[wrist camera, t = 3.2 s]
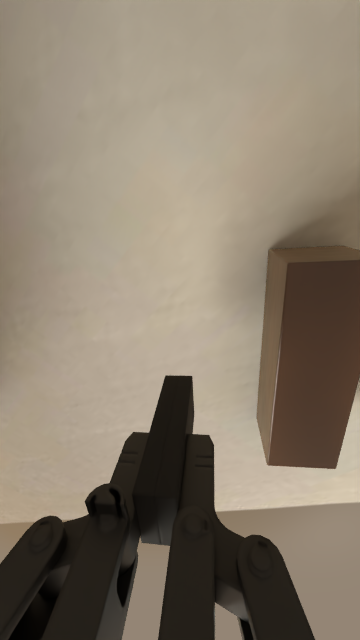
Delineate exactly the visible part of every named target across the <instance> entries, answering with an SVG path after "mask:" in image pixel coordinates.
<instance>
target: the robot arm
mask: <svg viewBox="0 0 360 640" xmlns="http://www.w3.org/2000/svg"><path fill="white" fill-rule="evenodd" d="M193 422H194V401H193V382H192V376H165V379H164V383H163V386H162V390H161V393H160V397H159V400H158V404H157V407H156V411H155V414H154V418H153V421H152V425H151V428H150V432H149V433H143V432H133V433H132V434H131V435H130V436H129V438H128V439H127V440H126V441H125V444H124V446H123V449H122V453H121V454H120V457H119V460H118V463H117V465H116V468H115V470H114V473H113V476H112V478H111V481H110V483H109V484H103V485H101V486H99V487H97V488H95V489H94V490H93V491H92V492H91V493H90V494H89V496H88V497H87V499H86V500H85V504H86V507H87V510H88V513H89V514H88V515H86V516H84V517H81V518H78V519H74V520H70V521H67V522H62V520H60V519H59V518H58V517H56V516H47V517H44V518H41V519H40V520H38V521H37V522H35V523H34V524H33V525H32V526H31V527H30V528H29V529H28V530H27V531H26V532H25V533H24V535H23V536H22V537H21V538H20V540H19V541H18V542H17V543H16V545H15V546H14V547H13V549H12V550H11V551H10V552H9V554H8V555H7V556H6V557H5V559H4V560H3V561H2V562H1V564H0V640H122V635H123V630H124V626H125V621H126V616H127V611H128V607H129V602H130V597H131V592H132V588H133V583H134V578H135V573H136V568H137V563H138V553H137V547H138V543H139V538H140V537H141V541H142V543H149V544H158V545H168V546H170V552H169V560H168V567H167V576H166V583H165V590H164V598H163V606H162V614H161V622H160V629H159V637H158V640H215V602H216V603H217V604H219V605H220V606H222V607H223V608H225V609H227V610H228V611H230V612H231V613H233V614H234V615H236V616H237V617H238V622H239V626H240V631H241V636H242V640H315V639H314V636H313V633H312V631H311V628H310V626H309V623H308V620H307V618H306V615H305V613H304V610H303V608H302V606H301V603H300V600H299V598H298V595H297V593H296V590H295V588H294V585H293V582H292V580H291V578H290V575H289V572H288V570H287V568H286V565H285V562H284V560H283V557H282V555H281V554H280V552H279V550H278V548H277V547H276V546H275V545H274V544H273V543H272V542H271V541H270V540H269V539H267V538H265V537H263V536H261V535H250V536H248V537H246V538H244V537H242V536H240V535H238V534H236V533H234V532H232V531H230V530H228V529H227V528H226V527H225V526H224V525H223V524H222V523H221V522H220V520H219V519H218V517H217V515H216V512H215V508H214V444H213V442H212V440H211V438H210V436H209V435H198V434H192V433H193Z"/></svg>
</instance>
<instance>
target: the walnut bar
mask: <svg viewBox="0 0 360 640" xmlns="http://www.w3.org/2000/svg"><path fill="white" fill-rule="evenodd" d="M359 377H360V250H356V249H353V248H349V247H346V246H327V247H306V248H285V249H269V251H268V265H267V279H266V293H265V307H264V321H263V335H262V349H261V363H260V377H259V391H258V405H257V422H258V426H259V431H260V435H261V440H262V444H263V449H264V453H265V458H266V462H267V465H270V466H289V467H308V468H327V469H336V466H337V462H338V458H339V455H340V451H341V447H342V443H343V439H344V435H345V431H346V427H347V423H348V419H349V416H350V412H351V408H352V404H353V400H354V396H355V392H356V388H357V384H358V381H359Z"/></svg>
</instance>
